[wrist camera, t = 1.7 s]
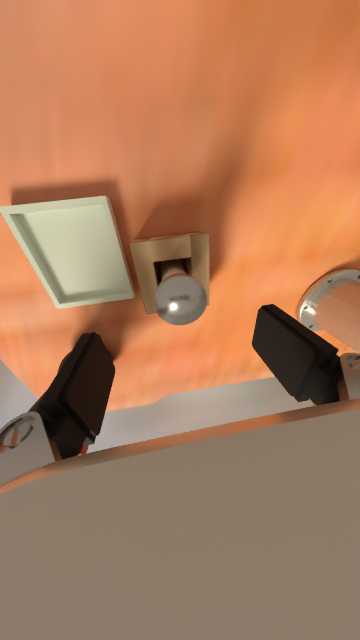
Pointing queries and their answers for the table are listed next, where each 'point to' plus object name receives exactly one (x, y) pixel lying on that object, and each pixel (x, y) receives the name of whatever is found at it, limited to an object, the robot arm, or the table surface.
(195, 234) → the square wooden holder
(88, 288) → the tray
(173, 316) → the pin
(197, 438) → the robot arm
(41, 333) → the table surface
